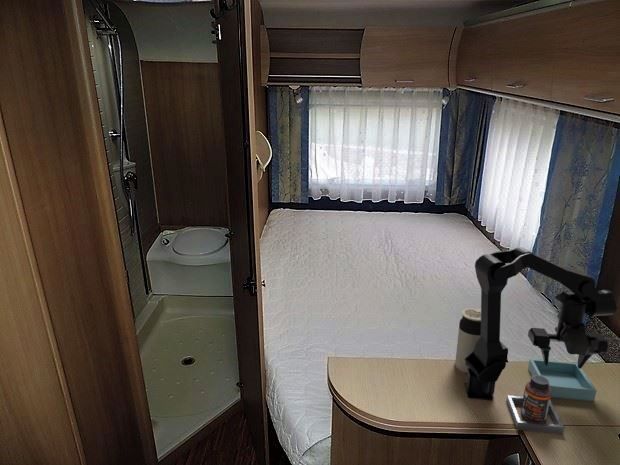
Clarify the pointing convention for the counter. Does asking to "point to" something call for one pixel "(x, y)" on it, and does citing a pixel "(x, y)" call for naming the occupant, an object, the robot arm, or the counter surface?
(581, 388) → the bin
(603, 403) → the counter surface
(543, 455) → the counter surface
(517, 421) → the collar
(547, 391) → the supplement bottle
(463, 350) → the travel mug
